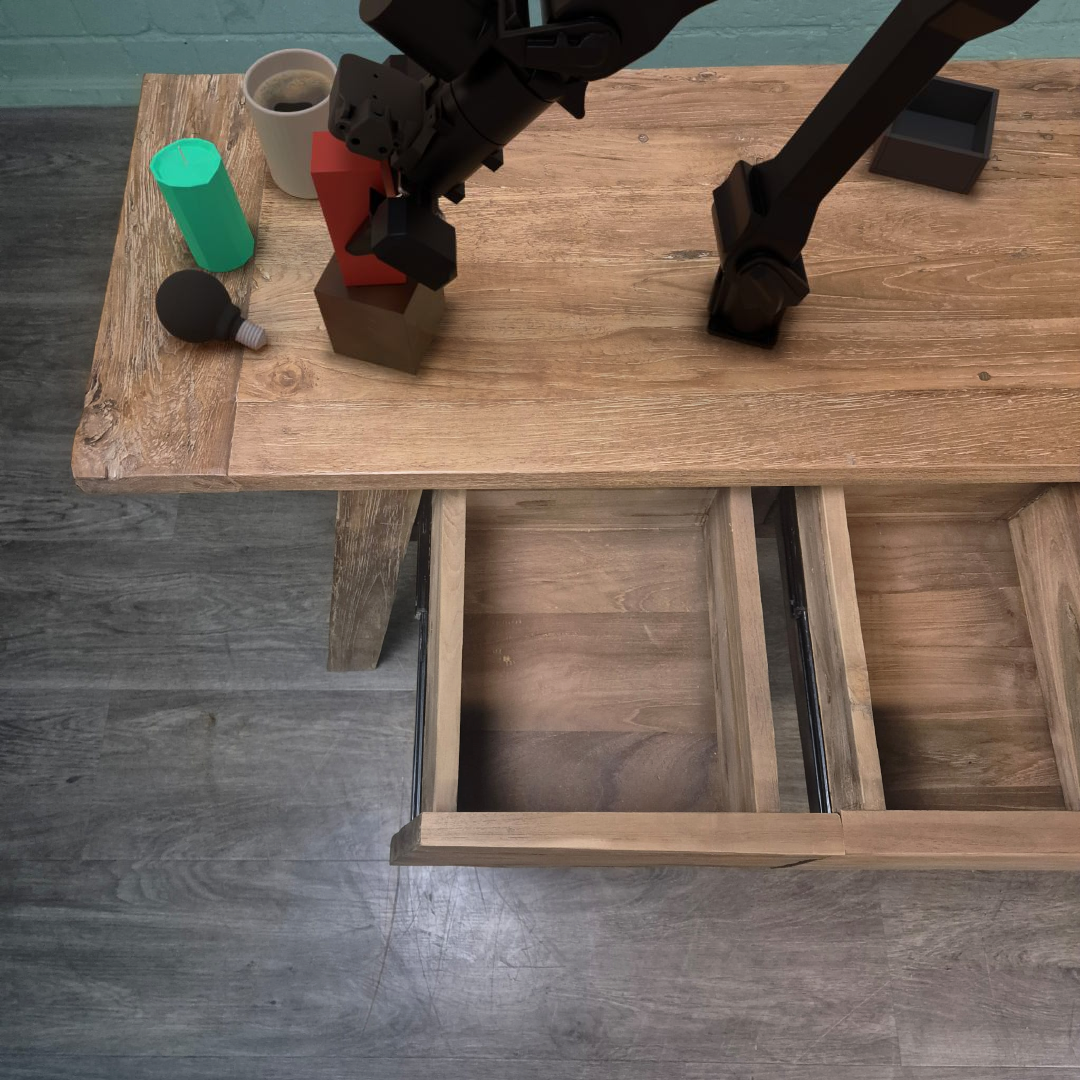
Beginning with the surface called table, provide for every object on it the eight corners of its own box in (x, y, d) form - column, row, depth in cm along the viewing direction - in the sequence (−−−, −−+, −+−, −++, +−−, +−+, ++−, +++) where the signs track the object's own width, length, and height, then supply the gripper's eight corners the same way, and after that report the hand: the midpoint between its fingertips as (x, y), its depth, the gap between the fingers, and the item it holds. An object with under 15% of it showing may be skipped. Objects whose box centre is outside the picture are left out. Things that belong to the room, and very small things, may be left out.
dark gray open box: (979, 126, 94) (1000, 89, 89) (968, 195, 90) (989, 159, 85) (883, 104, 95) (899, 67, 91) (867, 171, 91) (883, 135, 87)
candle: (196, 278, 84) (146, 179, 73) (189, 231, 87) (139, 129, 76) (259, 265, 85) (218, 165, 74) (250, 219, 87) (210, 116, 76)
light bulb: (257, 343, 76) (143, 286, 74) (246, 387, 81) (139, 335, 79) (287, 297, 80) (180, 241, 78) (275, 342, 85) (173, 291, 83)
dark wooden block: (446, 308, 83) (438, 243, 75) (415, 375, 80) (403, 314, 72) (367, 286, 84) (350, 220, 76) (333, 352, 81) (313, 290, 73)
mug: (258, 190, 89) (227, 104, 80) (291, 125, 93) (265, 35, 84) (361, 210, 88) (341, 126, 79) (390, 143, 92) (375, 55, 83)
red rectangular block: (406, 245, 75) (381, 127, 64) (406, 283, 73) (381, 168, 62) (347, 249, 75) (312, 131, 64) (345, 286, 73) (310, 172, 62)
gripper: (388, -62, 59) (266, 88, 69) (384, 140, 52) (248, 277, 61) (508, 43, 67) (383, 165, 76) (520, 233, 59) (380, 342, 69)
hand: (350, 231), depth 70 cm, fingers closed on red rectangular block, 4 cm apart
